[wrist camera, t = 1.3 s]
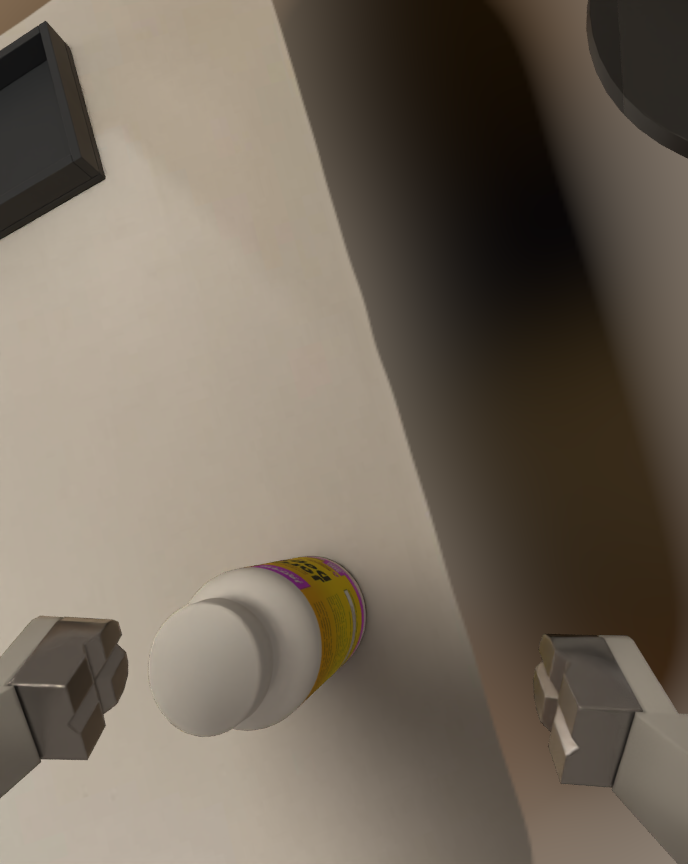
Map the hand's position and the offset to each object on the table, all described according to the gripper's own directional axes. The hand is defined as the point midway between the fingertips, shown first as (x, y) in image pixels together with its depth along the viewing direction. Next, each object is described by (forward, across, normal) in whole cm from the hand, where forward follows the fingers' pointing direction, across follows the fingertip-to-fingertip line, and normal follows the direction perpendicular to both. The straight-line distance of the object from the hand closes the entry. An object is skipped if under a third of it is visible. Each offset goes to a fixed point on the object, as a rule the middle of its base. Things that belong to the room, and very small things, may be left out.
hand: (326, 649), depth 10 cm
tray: (+41, +32, -12) cm, 54 cm away
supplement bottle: (+17, +2, +14) cm, 22 cm away
